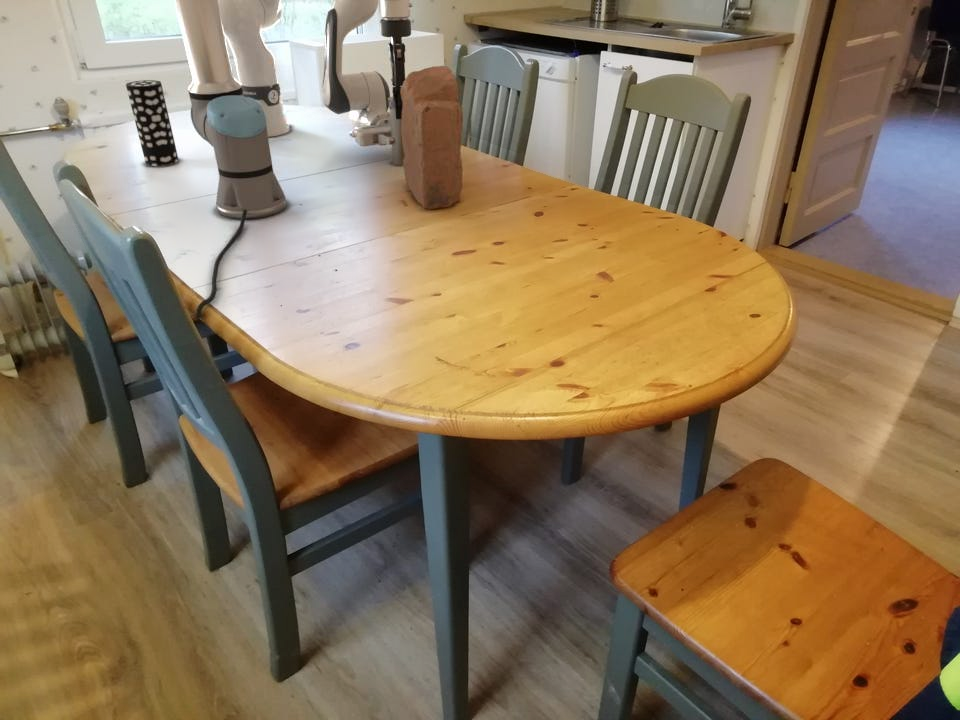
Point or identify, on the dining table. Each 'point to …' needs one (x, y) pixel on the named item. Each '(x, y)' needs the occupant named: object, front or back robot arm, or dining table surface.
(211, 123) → the front robot arm
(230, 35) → the back robot arm
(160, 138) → the black white spotted cylinder
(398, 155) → the jar
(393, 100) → the lid
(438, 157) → the stone
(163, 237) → the dining table surface
